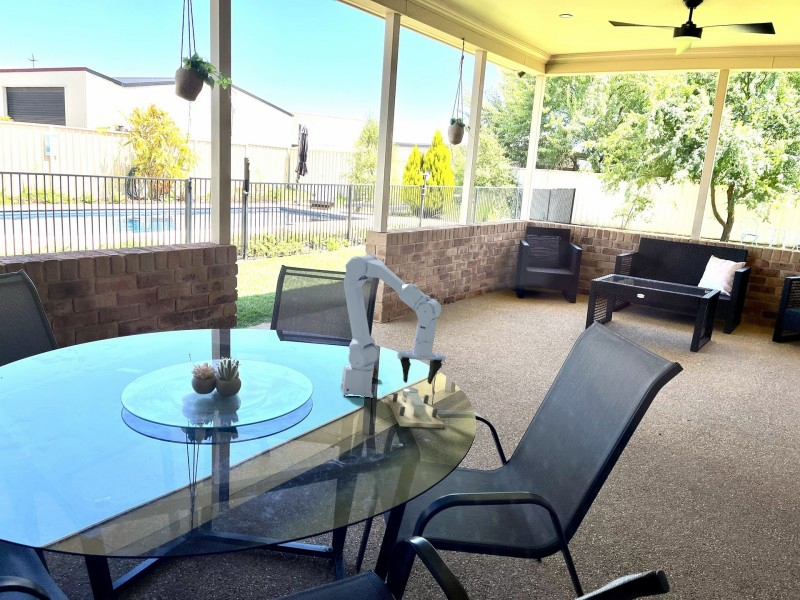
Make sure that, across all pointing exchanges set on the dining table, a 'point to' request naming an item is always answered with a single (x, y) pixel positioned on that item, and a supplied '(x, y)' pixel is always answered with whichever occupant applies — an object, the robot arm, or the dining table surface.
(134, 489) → the dining table surface
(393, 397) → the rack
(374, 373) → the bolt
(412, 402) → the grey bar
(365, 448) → the dining table surface
